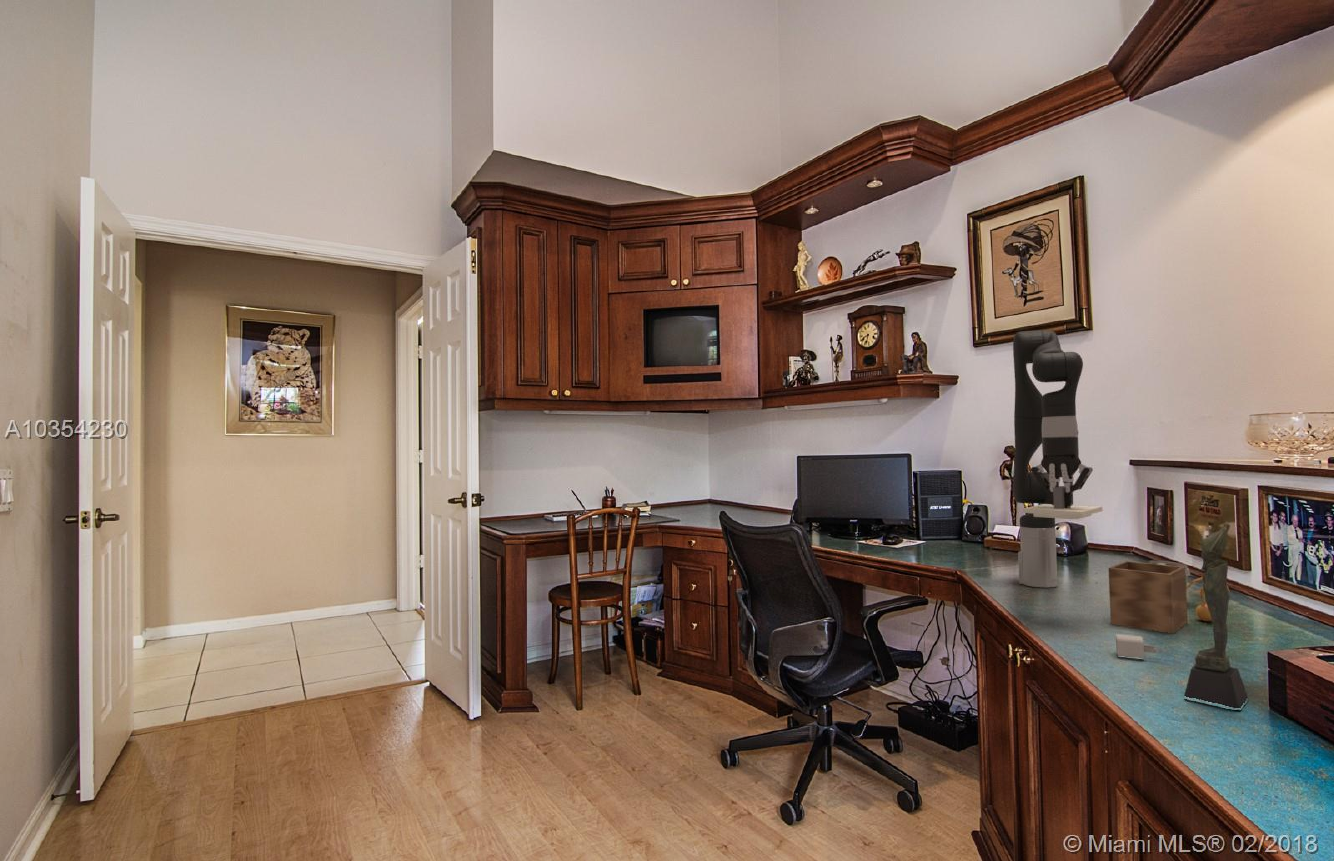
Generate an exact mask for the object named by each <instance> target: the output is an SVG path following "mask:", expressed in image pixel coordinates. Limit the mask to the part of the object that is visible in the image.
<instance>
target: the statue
mask: <svg viewBox="0 0 1334 861" xmlns="http://www.w3.org/2000/svg"><path fill="white" fill-rule="evenodd" d="M1230 528H1231V525H1230V524H1229V523H1228V521H1225V522H1224V523H1223V525H1222V527H1221V528H1220V529H1219V530H1218V531H1215V532H1213V533H1212V534H1209V535H1208V536H1207V537H1205V538H1202V539H1201V541H1200V543H1199V544H1200V547H1201V556H1200V557H1201V559H1202V566H1201V569H1200V570H1202V571H1204V573H1203V574H1202V576H1201V577H1202V579H1203V581H1202V583H1203V582H1204V583H1203V585H1202V587H1203V589H1204V594H1203V595H1204V597H1205V604H1207V606H1208V609H1209V612H1210V615H1211V619H1212V621H1211V623H1212V632H1213V634H1212V635H1213V640H1214V647H1211V648H1205V649H1201V650H1198V651H1197V654H1196V656H1195V658H1194V660H1195V662H1194V663H1195V664H1194V665H1193V666H1192V667H1191V668H1190V672H1189V675H1188V680H1187V683H1186V688H1185V689H1184V690H1185V691H1184V695H1183V697H1184V696H1186V697H1189V698H1196V699H1199V700H1200V699H1201V700H1204V701H1208V702H1212V703H1218V704H1222V705H1225V706H1229V707H1233V708H1241V706H1242V705H1243V703H1245V701H1246V699H1247V698H1248V699H1249V695H1248V693H1247V690H1246V687H1245V684H1244V682H1243V679H1242V675H1241V674H1240V671H1239V669H1238V667H1237V668H1236V667H1232V666H1231V663H1230V659H1229V657H1228V655H1227V653H1226V649H1227V644H1228V637H1229V636H1228V627H1227V626H1228V625H1227V617H1228V611H1229V602H1230V598H1231V597H1230V593H1229V592H1228V589H1227V586H1228V584H1227V579H1228V568H1229V564H1228V560H1223V559H1222V556H1223V554H1224V552H1225V549H1226V548H1225V547H1226V544H1227V534H1228V532H1229V531H1230Z"/></svg>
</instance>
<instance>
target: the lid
mask: <svg viewBox="0 0 1334 861" xmlns="http://www.w3.org/2000/svg"><path fill="white" fill-rule="evenodd" d="M1064 493H1065V490H1064V485H1059V487H1053V498H1054V505H1052V504H1042V503H1041V504H1042V505H1041V504H1039V505H1033V506H1029V507H1024V508H1021V509H1022V510H1021V511H1022V514H1030V513H1033V515H1034V517H1046V518H1055V519H1062V520H1063V519H1065V520H1080V519H1084V518H1087V517H1091V516H1092V515H1093V514H1096V513H1099V512H1103V506H1096V505H1095V506H1094V505H1093V506H1092V505H1074V504H1073V505H1072V506H1071V507H1070V508H1065V504H1064Z"/></svg>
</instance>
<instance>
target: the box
mask: <svg viewBox="0 0 1334 861" xmlns="http://www.w3.org/2000/svg"><path fill="white" fill-rule="evenodd" d="M1108 585H1109V586H1108V587H1109V588H1108V589H1109V590H1108V592H1109V612H1110V613H1109V614H1110V615H1109V616H1110V617H1109V618H1110V625H1111V624H1112V625H1116V626H1122V627H1127V628H1128V627H1129V628H1134V627H1136V628H1135V629H1140V628H1141V630H1146V629H1147V631H1152V630H1154V632H1158V631H1159V633H1165V632H1169V633H1168V634H1171V633H1173V634H1175V633H1176V632H1178V631H1179V630H1180V629H1182V628H1183V627H1184V626H1186V625H1187V624H1188V623H1189V622H1188V620H1189V619H1188V598H1187V590H1186V571H1185V567H1180V566H1170V565H1160V564H1150V562H1149V563H1148V562H1139V561H1138V562H1137V561H1131V560H1130V561H1128V560H1124V561H1122V562H1120V563H1117V564H1115V565H1112V566H1110V567H1108ZM1181 627H1182V628H1181ZM1178 629H1179V630H1178ZM1177 630H1178V631H1177ZM1174 632H1175V633H1174Z"/></svg>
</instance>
